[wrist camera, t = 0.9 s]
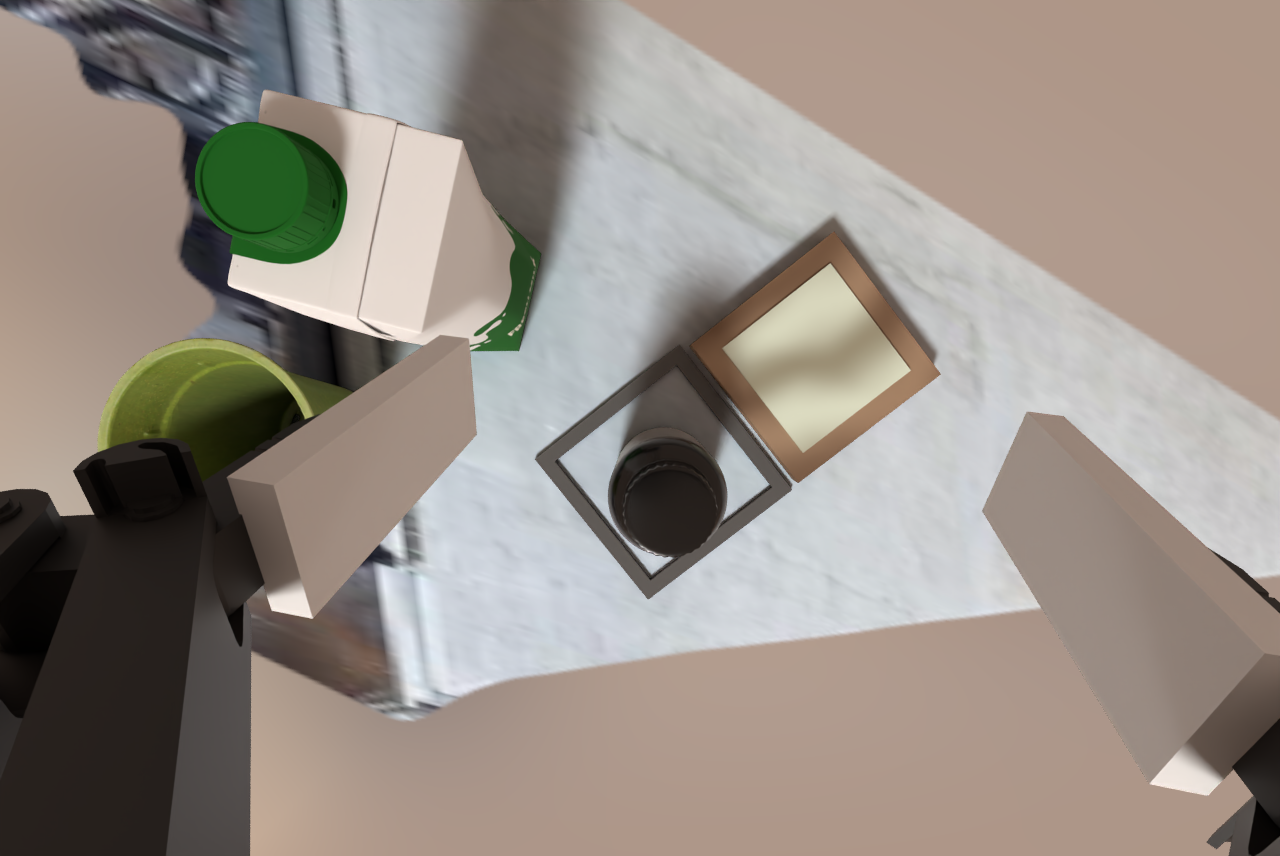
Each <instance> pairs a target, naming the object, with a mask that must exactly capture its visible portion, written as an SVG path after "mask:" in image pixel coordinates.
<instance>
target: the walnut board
mask: <svg viewBox="0 0 1280 856" xmlns="http://www.w3.org/2000/svg"><path fill="white" fill-rule="evenodd" d="M689 347H690V348H691V349H692V350H693V352H694V353H695V354H696V356H697V357H698V358H699V359H700V361H701V362H702V363H703V365H704V366H705V367H706V369H707V370H708V371H709V372H710V374H711V375H712V376H713V378H714V379H715V380H716V381H717V383H718V384H719V385H720V387H721V388H722V389H723V390H724V392H725V393H726V394H727V396H728V397H729V398H730V399H731V401H732V402H733V403H734V405H735V406H736V407H737V408H738V410H739V411H740V412H741V414H742V415H743V416H744V417H745V419H746V420H747V421H748V423H749V424H750V425H751V426H752V428H753V429H754V430H755V432H756V433H757V434H758V435H759V437H760V438H761V439H762V441H763V442H764V443H765V444H766V446H767V447H768V448H769V450H770V451H771V452H772V453H773V455H774V456H775V457H776V459H777V460H778V461H779V463H780V464H781V465H782V466H783V468H784V469H785V470H786V472H787V473H788V474H789V475H790V477H791V478H792V479H793V480H794V481H796V482H797V483H799V482H800V481H801V480H803V479H804V478H805V477H807V476H808V475H809V474H811V473H812V472H813V471H815V470H816V469H817V468H818V467H820V466H821V465H822V464H824V463H825V462H826V461H828V460H829V459H830V458H832V457H833V456H834V455H836V454H837V453H838V452H839V451H841V450H842V449H843V448H845V447H846V446H847V445H849V444H850V443H851V442H853V441H854V440H855V439H857V438H858V437H859V436H860V435H862V434H863V433H864V432H866V431H867V430H868V429H870V428H871V427H872V426H874V425H875V424H876V423H878V422H879V421H880V420H881V419H883V418H884V417H885V416H887V415H888V414H889V413H891V412H892V411H893V410H895V409H896V408H897V407H899V406H900V405H901V404H902V403H904V402H905V401H906V400H908V399H909V398H910V397H912V396H913V395H914V394H916V393H917V392H918V391H920V390H921V389H922V388H923V387H925V386H926V385H927V384H929V383H930V382H931V381H933V380H934V379H935V378H937V377H938V376H939V375H941V374H940V372H939V371H938V370H937V368H936V367H935V366H934V364H933V363H932V362H931V360H930V359H929V358H928V356H927V355H926V354H925V352H924V351H923V350H922V348H921V347H920V346H919V344H918V343H917V342H916V340H915V339H914V338H913V336H912V335H911V334H910V332H909V331H908V330H907V328H906V327H905V326H904V324H903V323H902V322H901V320H900V319H899V318H898V316H897V315H896V314H895V312H894V311H893V310H892V308H891V307H890V306H889V304H888V303H887V302H886V300H885V299H884V298H883V296H882V295H881V294H880V292H879V291H878V290H877V288H876V287H875V286H874V284H873V283H872V282H871V280H870V279H869V278H868V276H867V275H866V274H865V272H864V271H863V270H862V268H861V267H860V266H859V264H858V263H857V262H856V260H855V259H854V258H853V256H852V255H851V254H850V252H849V251H848V250H847V248H846V247H845V245H844V244H843V243H842V241H841V240H840V239H839V237H838V236H837V235H836V233H835V232H833V233H831V234H830V235H829V236H828V237H826V238H825V239H824V240H823V241H821V242H820V243H819V244H817V245H816V246H815V247H814V248H812V249H811V250H810V251H809V252H807V253H806V254H805V255H804V256H802V257H801V258H800V259H798V260H797V261H796V262H795V263H793V264H792V265H791V266H790V267H788V268H787V269H786V270H785V271H783V272H782V273H781V274H780V275H778V276H777V277H776V278H774V279H773V280H772V281H771V282H769V283H768V284H767V285H766V286H764V287H763V288H762V289H761V290H759V291H758V292H757V293H756V294H754V295H753V296H752V297H750V298H749V299H748V300H747V301H745V302H744V303H743V304H742V305H740V306H739V307H738V308H737V309H735V310H734V311H733V312H731V313H730V314H729V315H728V316H726V317H725V318H724V319H723V320H721V321H720V322H719V323H718V324H716V325H715V326H714V327H713V328H711V329H710V330H709V331H707V332H706V333H705V334H704V335H702V336H701V337H700V338H699V339H697V340H696V341H695V342H694V343H692V344H691V345H690V346H689Z"/></svg>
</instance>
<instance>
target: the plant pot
mask: <svg viewBox="0 0 1280 856" xmlns="http://www.w3.org/2000/svg"><path fill="white" fill-rule="evenodd" d="M352 393H353V392H351V391H349V390H347V389H345V388H342V387H339V386H335V385H332V384H328V383H325V382H322V381H318V380H315V379H311V378H308V377H305V376H301V375H298V374H294V373H291V372H288V371H287V370H285V369H283V368H282V367H281V366H279V365H278V364H277V363H275V362H274V361H273V360H271V359H270V358H268V357H267V356H265V355H263V354H262V353H260V352H258V351H256V350H254V349H252V348H249V347H247V346H244V345H242V344H238V343H235V342H231V341H227V340H221V339H210V338H196V339H187V340H182V341H178V342H174V343H171V344H168V345H166V346H163V347H161V348H159V349H156V350H154V351H152V352H151V353H149V354H147V355H146V356H144V357H143V358H142V359H140V360H139V361H138V362H137V363H135V364H134V365H133V366H132V367H131V368H130V369H129V370H128V371H127V372H126V373H125V374H124V375H123V376H122V377H121V379H120V380H119V381H118V383H117V384H116V386H115V387H114V389H113V391H112V392H111V394H110V397H109V399H108V401H107V403H106V406H105V408H104V411H103V413H102V416H101V421H100V426H99V433H98V452H100V451H102V450H105V449H108V448H111V447H113V446H116V445H119V444H123V443H128V442H132V441H137V440H142V439H153V438H169V439H178V440H181V441H183V442H185V443H187V444H188V445H189V447H190V450H191V453H192V455H193V458H194V461H195V464H196V466H197V469H198V472H199V474H200V477H201V480H202V482H203V481H205V480H206V479H208V478H209V477H211V476H212V475H214V474H216V473H217V472H219V471H220V470H222V469H223V468H225V467H226V466H228V465H229V464H231V463H233V462H234V461H236V460H237V459H239V458H240V457H242V456H243V455H245V454H246V453H248V452H250V451H255V448H256V447H257V446H259V445H260V444H262V443H263V442H265V441H267V440H272V437H273V436H274V435H276V434H277V433H279V432H281V431H282V430H284V429H285V428H287V427H288V426H290V425H291V422H292V419H293V417H294V415H295V414H298V415H299V417H300V420H299V421H301V420H304V419H307V418H309V417H312V416H315V415H317V414H322V413H324V412H325V411H327V410H328V409H330V408H331V407H333V406H334V405H336V404H337V403H339V402H340V401H342V400H343V399H345V398H346V397H348V396H349V395H351V394H352Z"/></svg>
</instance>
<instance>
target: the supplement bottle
mask: <svg viewBox="0 0 1280 856" xmlns="http://www.w3.org/2000/svg"><path fill="white" fill-rule="evenodd" d="M608 504H609V509H610V513H611V516H612V519H613V521H614V523H615V525H616V527H617V529H618V530H619V531H620V533H621V534H622V535H623V536H624V537H625V538H626V539H627V540H628V541H629V542H630V543H632V544H633V545H634V546H636V547H638V548H639V549H641V550H643V551H646V552H649V553H652V554H654V555H656V556H659V555H661V556H663V557H669V556H670V557H673V558H674V557H677V556H684V555H685V554H687V553H692V552H693V551H694V550H695V549H698V548H700V546H701V545H702V544H704V543H705V542H706V541H707V540H709V539H710V538H711V537H712V535H713V534H714V533H715V532H716V530H717V529H718V527H719V526H720V524H721V522H722V520H723V517H724V514H725V511H726V506H727V487H726V482H725V479H724V476H723V473H722V471H721V469H720V467H719V465H718V464H717V462H716V461H715V459H714V458H713V457H712V456H711V455H710V454H709V452H708V451H707V450H706V449H705V448H704V447H703V446H702V445H701V444H700V443H699V442H698V441H697V440H696V439H695V438H694V437H692V436H691V435H689V434H688V433H686V432H684V431H681V430H679V429H675V428H670V427H658V428H652V429H649V430H646V431H644V432H641V433H640V434H638V435H636V436H635V437H634V438H632V439H631V440H630V441H629V442H628V443H627V444H626V446H625V447H624V448H623V450H622V452H621V453H620V455H619V457H618V460H617V462H616V465H615V468H614V470H613V473H612V476H611V479H610V483H609V488H608Z"/></svg>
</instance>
